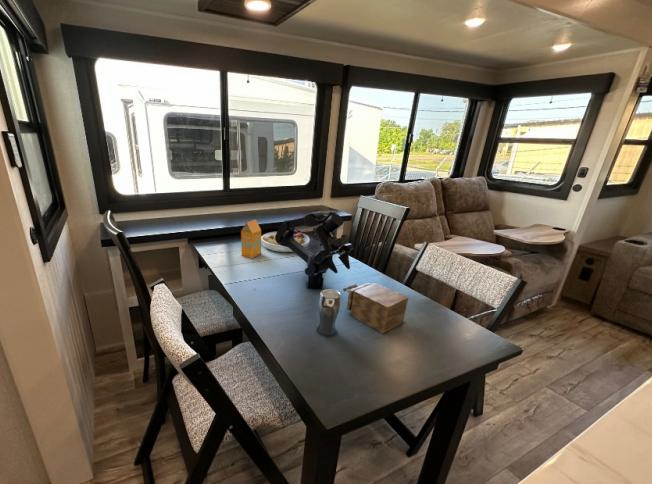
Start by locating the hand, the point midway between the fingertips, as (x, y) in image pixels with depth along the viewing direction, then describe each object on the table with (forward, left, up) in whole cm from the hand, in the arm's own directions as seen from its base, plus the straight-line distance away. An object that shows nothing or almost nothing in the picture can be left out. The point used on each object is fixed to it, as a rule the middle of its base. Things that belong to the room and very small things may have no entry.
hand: (343, 270), depth 127 cm
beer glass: (-8, -24, -13) cm, 29 cm away
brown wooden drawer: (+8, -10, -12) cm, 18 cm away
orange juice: (-44, +49, -13) cm, 67 cm away
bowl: (-25, +67, -13) cm, 73 cm away
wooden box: (+12, -14, -13) cm, 23 cm away
